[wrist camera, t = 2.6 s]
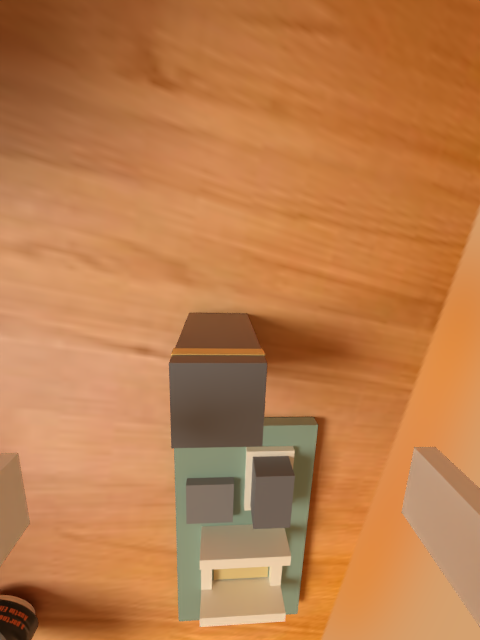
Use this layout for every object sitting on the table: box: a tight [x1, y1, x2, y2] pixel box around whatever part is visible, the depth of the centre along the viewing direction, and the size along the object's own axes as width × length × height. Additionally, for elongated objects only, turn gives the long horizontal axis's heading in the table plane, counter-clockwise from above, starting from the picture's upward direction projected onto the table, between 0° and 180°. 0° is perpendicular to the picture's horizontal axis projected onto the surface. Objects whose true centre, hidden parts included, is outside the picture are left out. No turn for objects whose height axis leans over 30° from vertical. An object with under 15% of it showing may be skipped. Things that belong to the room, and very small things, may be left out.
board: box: [174, 417, 318, 627], centre depth 27 cm, size 22×12×4 cm, turn 178°
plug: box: [169, 313, 267, 448], centre depth 19 cm, size 5×5×10 cm
